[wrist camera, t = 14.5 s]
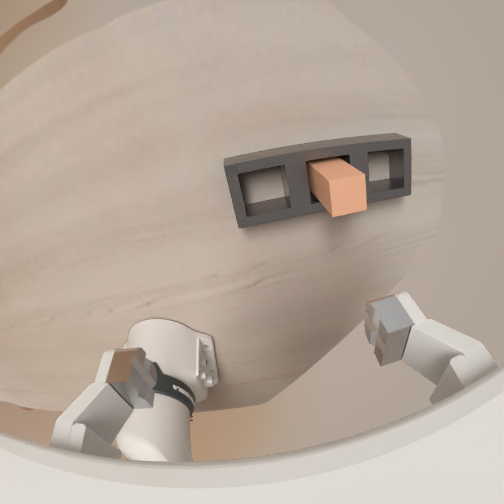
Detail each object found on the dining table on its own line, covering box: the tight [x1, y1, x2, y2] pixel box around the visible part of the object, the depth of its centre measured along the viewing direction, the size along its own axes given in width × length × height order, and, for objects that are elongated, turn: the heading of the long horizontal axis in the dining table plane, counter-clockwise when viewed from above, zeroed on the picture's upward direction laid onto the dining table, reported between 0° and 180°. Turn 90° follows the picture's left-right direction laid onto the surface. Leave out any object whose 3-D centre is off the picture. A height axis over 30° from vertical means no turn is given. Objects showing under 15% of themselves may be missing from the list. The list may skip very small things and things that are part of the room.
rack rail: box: [224, 133, 411, 228], centre depth 35 cm, size 8×24×4 cm, turn 101°
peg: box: [306, 156, 367, 217], centre depth 32 cm, size 4×4×10 cm
